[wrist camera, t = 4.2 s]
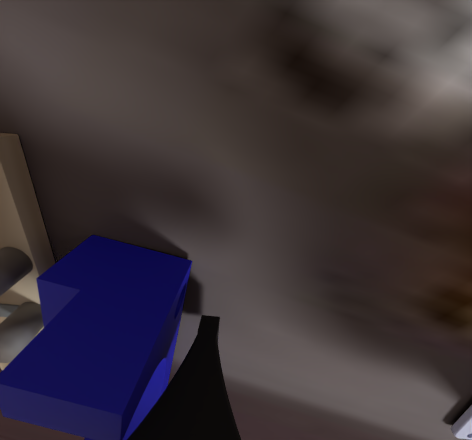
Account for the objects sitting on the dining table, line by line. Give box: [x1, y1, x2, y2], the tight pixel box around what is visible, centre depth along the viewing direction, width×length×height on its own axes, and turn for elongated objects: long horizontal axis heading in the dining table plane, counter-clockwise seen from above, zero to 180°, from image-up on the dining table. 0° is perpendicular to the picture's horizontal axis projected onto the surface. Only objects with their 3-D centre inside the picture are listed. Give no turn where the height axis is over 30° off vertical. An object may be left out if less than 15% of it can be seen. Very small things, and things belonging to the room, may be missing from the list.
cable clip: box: [0, 235, 192, 440], centre depth 11 cm, size 12×4×6 cm, turn 166°
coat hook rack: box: [0, 133, 55, 370], centre depth 11 cm, size 4×16×3 cm, turn 175°
